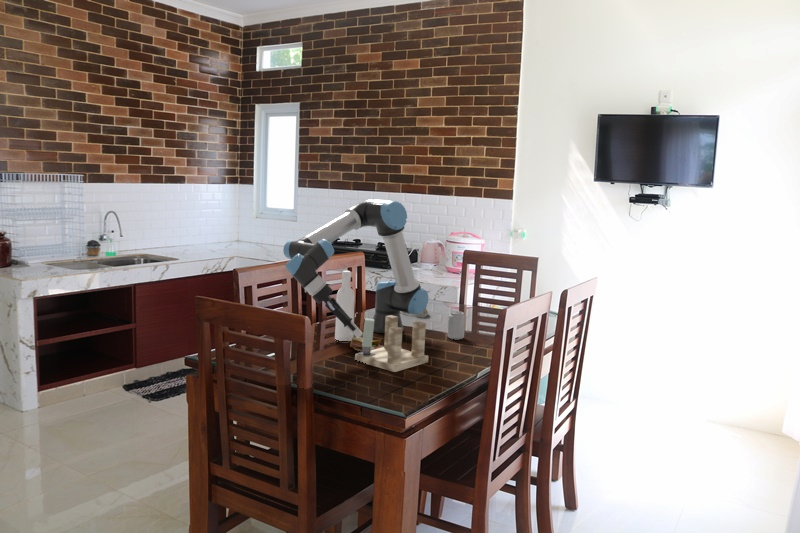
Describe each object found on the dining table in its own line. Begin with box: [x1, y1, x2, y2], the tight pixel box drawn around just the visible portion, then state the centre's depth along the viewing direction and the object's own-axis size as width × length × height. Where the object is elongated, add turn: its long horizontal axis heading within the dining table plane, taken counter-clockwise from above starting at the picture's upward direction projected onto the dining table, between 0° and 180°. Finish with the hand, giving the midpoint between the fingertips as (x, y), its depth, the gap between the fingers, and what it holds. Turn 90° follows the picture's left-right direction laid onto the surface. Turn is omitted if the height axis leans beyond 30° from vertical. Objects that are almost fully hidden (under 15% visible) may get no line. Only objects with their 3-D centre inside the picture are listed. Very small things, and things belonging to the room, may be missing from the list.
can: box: [446, 310, 466, 341], centre depth 289 cm, size 8×8×12 cm
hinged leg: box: [362, 317, 374, 355], centre depth 245 cm, size 4×4×13 cm
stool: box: [354, 315, 429, 373], centre depth 246 cm, size 20×20×16 cm
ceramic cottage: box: [400, 285, 429, 318], centre depth 338 cm, size 16×16×15 cm
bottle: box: [334, 270, 356, 341], centre depth 274 cm, size 8×8×30 cm
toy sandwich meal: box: [349, 335, 384, 353], centre depth 263 cm, size 12×14×5 cm
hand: (360, 335), depth 244 cm, fingers closed
